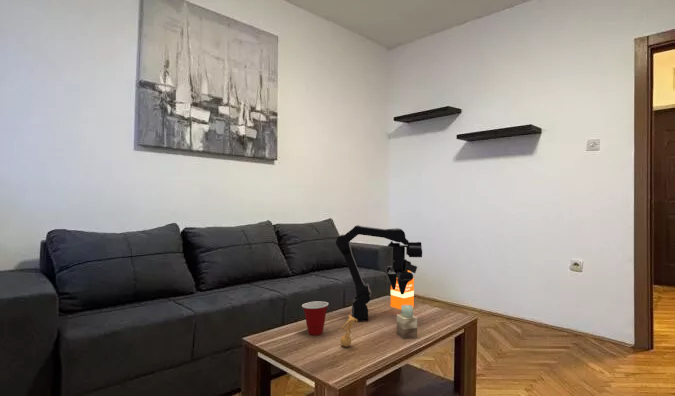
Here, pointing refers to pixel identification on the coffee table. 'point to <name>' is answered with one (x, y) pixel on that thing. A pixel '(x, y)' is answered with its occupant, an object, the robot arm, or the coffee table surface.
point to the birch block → (406, 322)
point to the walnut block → (407, 333)
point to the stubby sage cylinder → (407, 311)
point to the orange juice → (403, 295)
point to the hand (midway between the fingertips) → (398, 291)
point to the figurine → (346, 339)
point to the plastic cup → (315, 316)
